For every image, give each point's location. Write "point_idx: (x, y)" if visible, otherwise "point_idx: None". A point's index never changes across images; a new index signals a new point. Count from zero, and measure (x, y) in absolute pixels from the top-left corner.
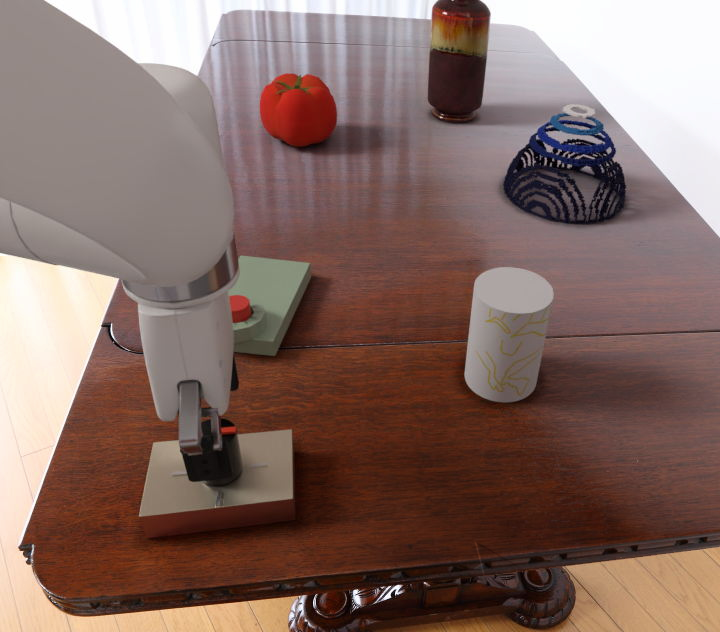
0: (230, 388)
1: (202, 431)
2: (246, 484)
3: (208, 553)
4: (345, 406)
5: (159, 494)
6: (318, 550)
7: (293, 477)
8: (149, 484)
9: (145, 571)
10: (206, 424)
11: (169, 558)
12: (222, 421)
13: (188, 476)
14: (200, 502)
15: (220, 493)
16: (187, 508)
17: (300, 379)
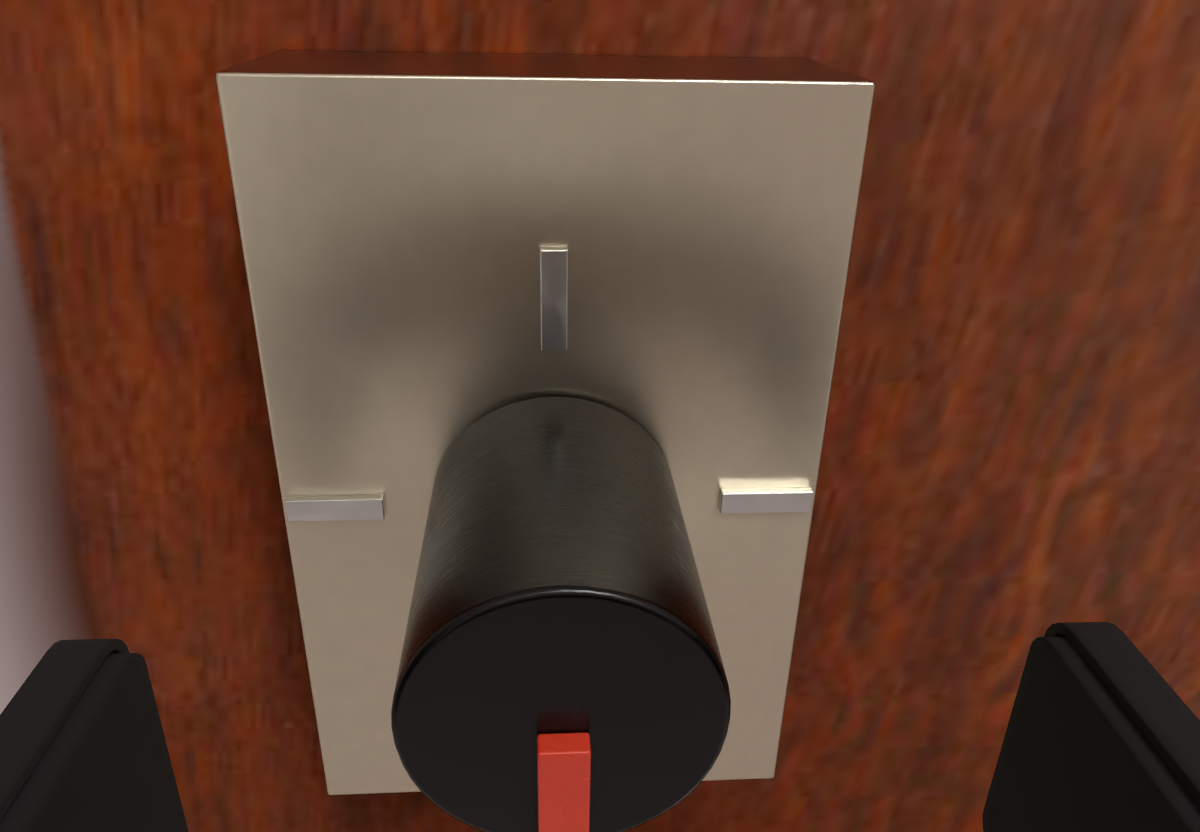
0: (1000, 818)
1: (597, 660)
2: None
3: (189, 365)
4: (941, 825)
5: (396, 184)
6: (209, 746)
7: None
8: (488, 107)
9: (70, 74)
10: (667, 680)
11: (156, 188)
12: (676, 769)
13: (28, 680)
14: (317, 422)
15: (367, 520)
16: (279, 357)
17: (1182, 677)
